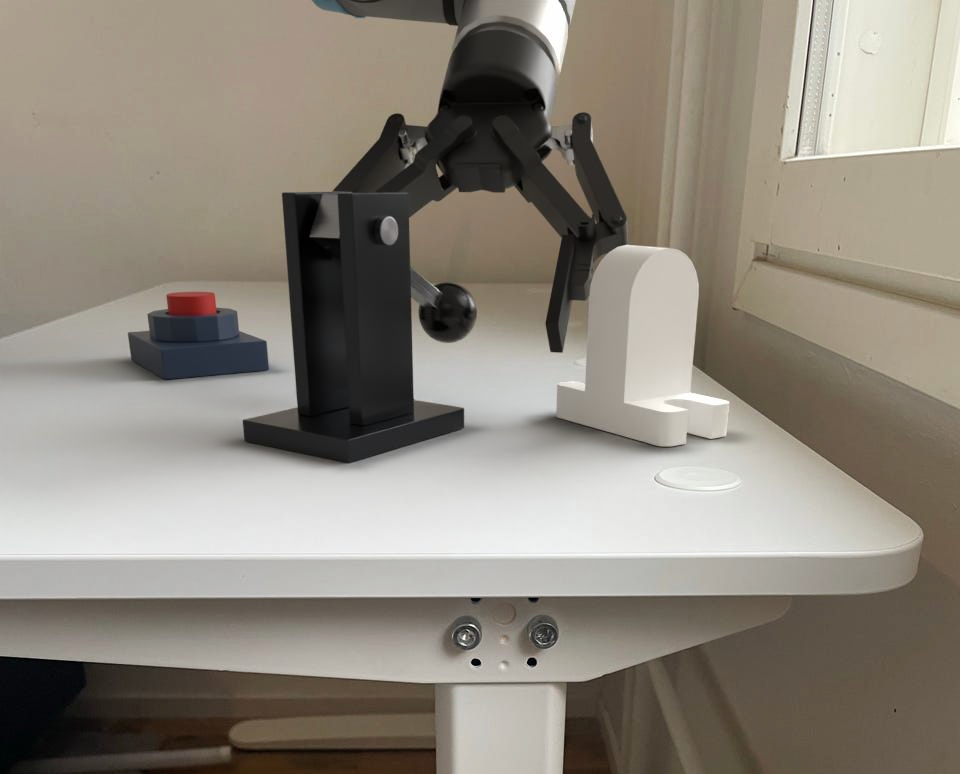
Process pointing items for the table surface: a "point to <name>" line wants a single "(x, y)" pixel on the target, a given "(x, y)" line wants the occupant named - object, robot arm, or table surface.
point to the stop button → (191, 303)
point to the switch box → (197, 345)
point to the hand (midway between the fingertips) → (443, 334)
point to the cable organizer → (642, 352)
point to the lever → (440, 305)
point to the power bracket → (351, 335)
